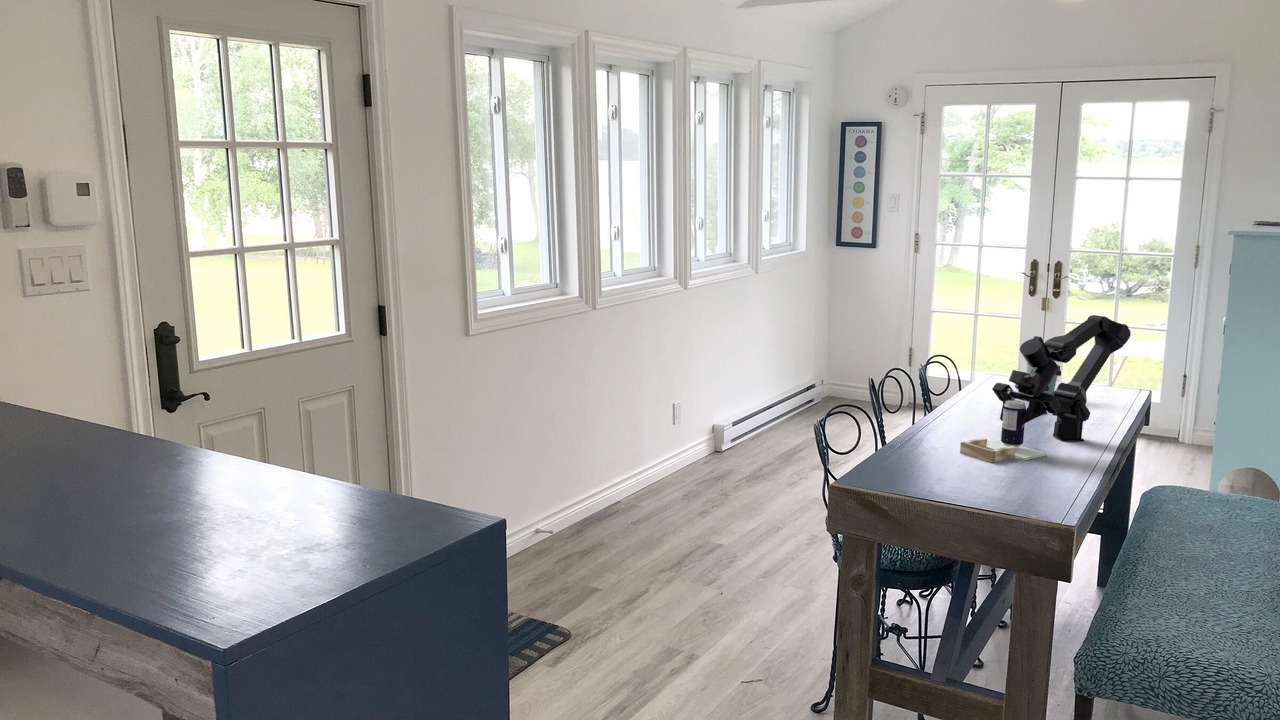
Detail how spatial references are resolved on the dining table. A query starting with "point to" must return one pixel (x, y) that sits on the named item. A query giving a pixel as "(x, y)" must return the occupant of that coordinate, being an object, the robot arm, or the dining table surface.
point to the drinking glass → (1051, 384)
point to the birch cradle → (986, 450)
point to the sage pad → (1019, 452)
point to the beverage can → (1012, 423)
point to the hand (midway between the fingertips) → (1010, 422)
